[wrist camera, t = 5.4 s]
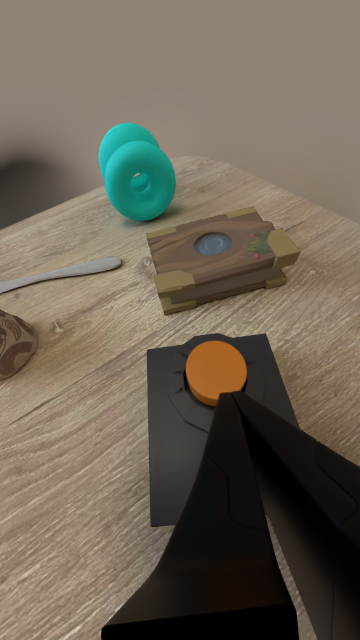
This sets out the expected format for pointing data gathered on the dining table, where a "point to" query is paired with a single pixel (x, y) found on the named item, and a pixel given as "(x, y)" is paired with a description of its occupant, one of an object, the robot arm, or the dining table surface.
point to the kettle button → (215, 371)
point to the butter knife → (64, 272)
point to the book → (218, 258)
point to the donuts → (129, 159)
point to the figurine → (15, 343)
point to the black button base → (196, 416)
